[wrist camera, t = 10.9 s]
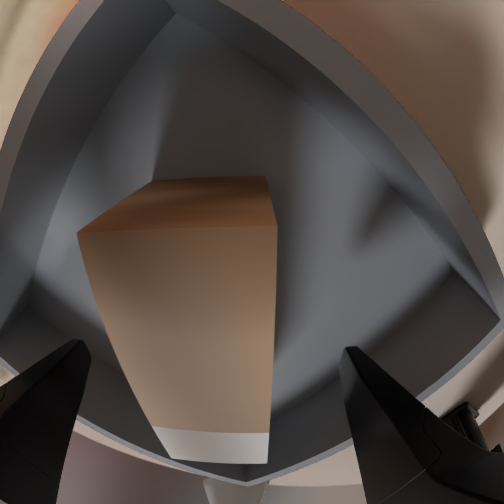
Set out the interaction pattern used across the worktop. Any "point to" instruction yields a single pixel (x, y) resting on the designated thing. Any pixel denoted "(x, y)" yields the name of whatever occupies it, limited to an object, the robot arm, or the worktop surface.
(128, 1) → the bin
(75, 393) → the robot arm
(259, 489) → the flask
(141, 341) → the tan rectangular block
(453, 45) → the worktop surface
